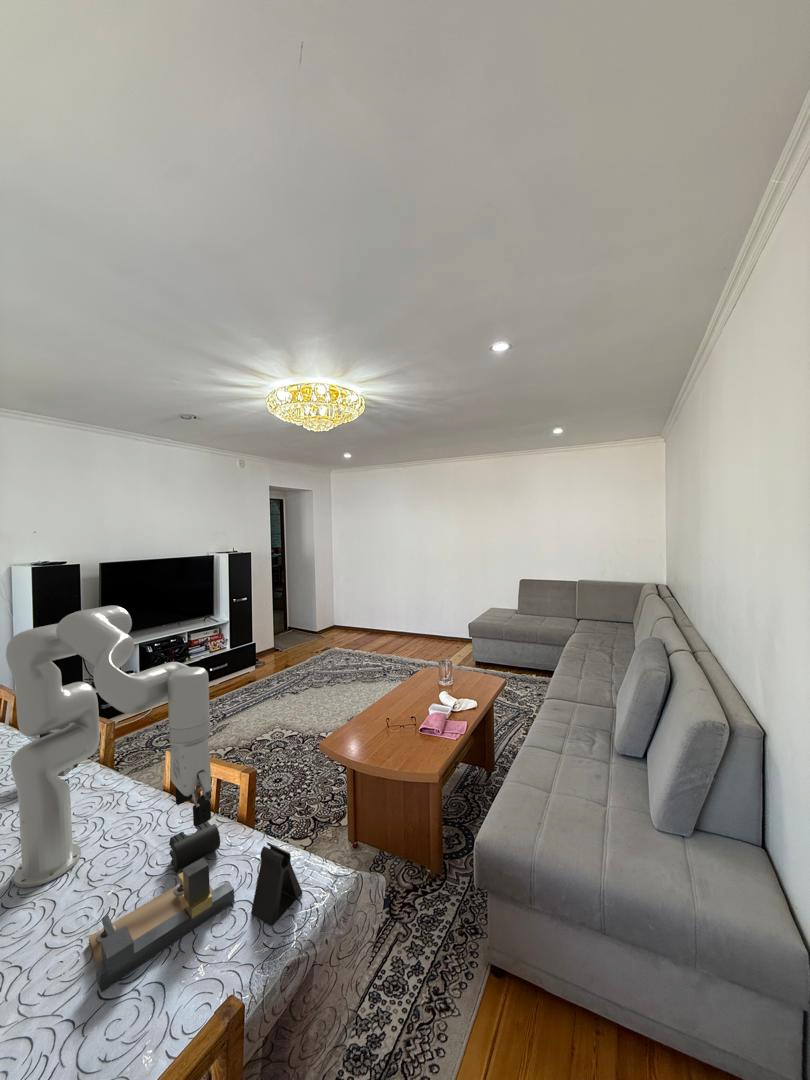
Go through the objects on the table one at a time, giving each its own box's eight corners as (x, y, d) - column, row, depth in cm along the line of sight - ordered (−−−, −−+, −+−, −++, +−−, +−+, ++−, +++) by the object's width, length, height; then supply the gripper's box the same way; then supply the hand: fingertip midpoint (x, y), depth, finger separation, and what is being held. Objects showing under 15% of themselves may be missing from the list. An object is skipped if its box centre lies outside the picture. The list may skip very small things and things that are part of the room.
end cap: (177, 879, 98) (176, 851, 98) (168, 863, 103) (167, 836, 103) (221, 855, 105) (220, 828, 105) (210, 841, 110) (209, 815, 110)
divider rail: (87, 951, 82) (86, 920, 81) (213, 875, 99) (212, 849, 99) (102, 996, 73) (100, 963, 73) (236, 904, 91) (235, 877, 91)
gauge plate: (89, 944, 83) (88, 935, 83) (199, 878, 98) (199, 870, 98) (98, 972, 77) (97, 963, 77) (214, 897, 93) (213, 890, 93)
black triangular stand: (283, 883, 96) (281, 831, 96) (302, 894, 93) (300, 840, 93) (250, 914, 88) (248, 858, 88) (270, 927, 85) (268, 869, 85)
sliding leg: (171, 890, 92) (169, 849, 92) (190, 879, 95) (188, 839, 95) (192, 924, 84) (190, 879, 84) (212, 910, 87) (210, 867, 87)
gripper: (156, 723, 90) (159, 802, 90) (186, 751, 78) (189, 842, 78) (193, 712, 95) (195, 786, 96) (226, 736, 83) (229, 821, 84)
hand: (193, 811), depth 87 cm, fingers open, 9 cm apart
